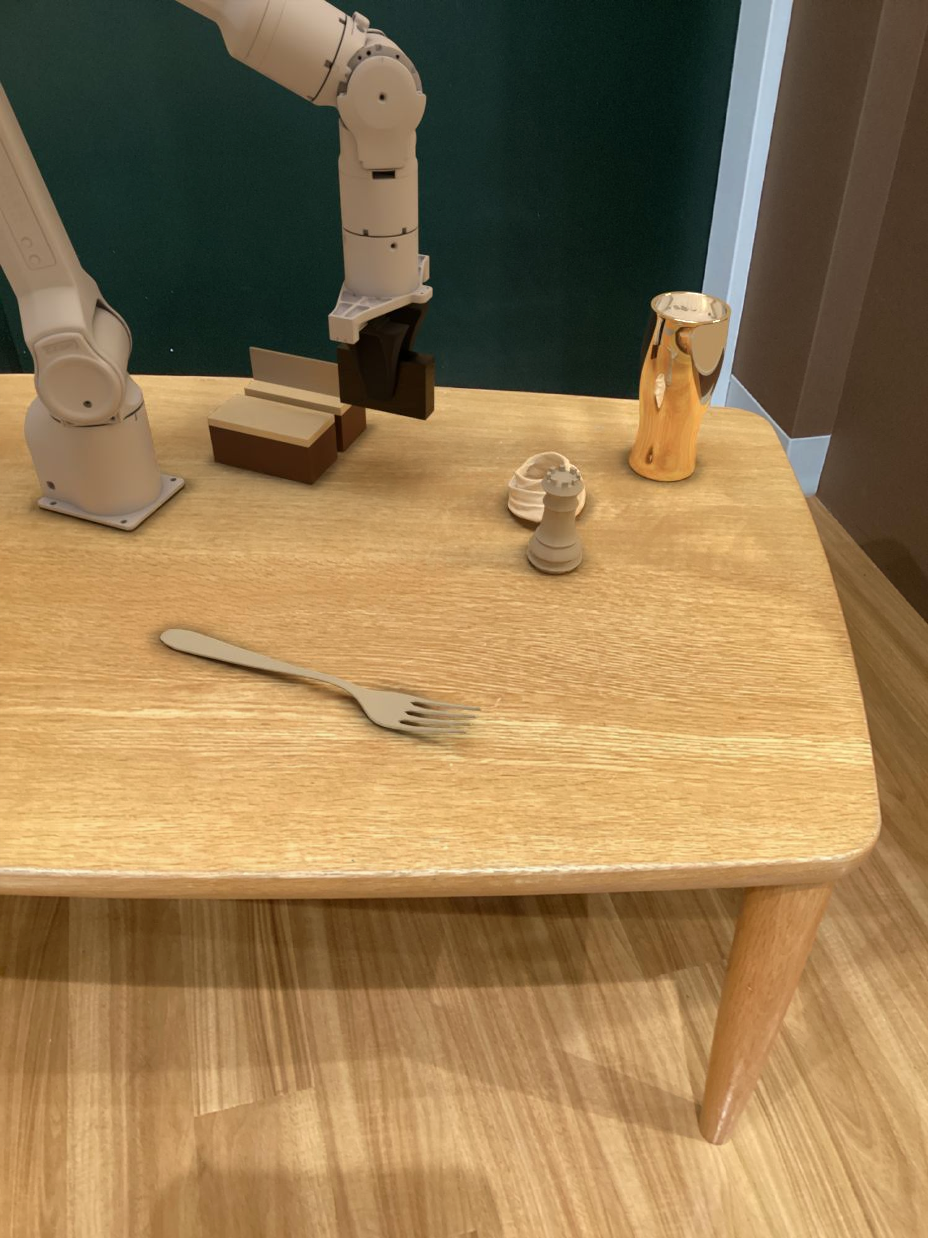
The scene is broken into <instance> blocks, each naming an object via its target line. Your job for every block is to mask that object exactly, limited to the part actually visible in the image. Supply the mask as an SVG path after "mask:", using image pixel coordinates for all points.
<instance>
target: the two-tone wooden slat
mask: <svg viewBox="0 0 928 1238" xmlns="http://www.w3.org/2000/svg"><path fill="white" fill-rule="evenodd" d="M249 355H250V363H251V369H252V370H251V371H252V377H253V380H258V381H262V382H267V383H272V384H277V385H282V386H286V387H291V388H296V389H301V390H306V391H310V392H315V393H320V394H325V395H329V396H334V397H339V398H340V403H344V404H349V405H354V406H358V407H363V408H366V409H367V410H374V411H378V412H382V413H387V414H393V415H397V416H402V417H406V418H411V419H415V420H421V421H427V420H428V418H430V416H431V415H432V414H433V413H434V411H435V370H436V369H435V363H436V362H435V358H436V356H435V355H434V354H430V353H429V354H428V353H424V352H418V351H408V350H403V349H400V351H399V355H398V360H397V368H396V380H395V388H394V393H393V396H392V399H391V400H390V401H389V402H386V401H381V400H376V399H371V398H368V397H367V395H366V392H365V389H364V386H363V383H362V380H361V377H360V373H359V370H358V368H357V365H356V362H355V360H354V357H353V355H352V353H351V351H350V349H349V348H348V346H347V344H346V343H344V342H341V343H340V344H339V345H338V346H336V361H337V363H335V362H330V361H325V360H320V359H316V358H310V357H305V356H300V355H295V354H291V353H285V352H281V351H275V350H269V349H264V348H259V347H255V346H250V347H249Z"/></svg>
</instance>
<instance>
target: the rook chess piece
mask: <svg viewBox="0 0 928 1238" xmlns="http://www.w3.org/2000/svg"><path fill="white" fill-rule="evenodd" d="M565 467H566V465H559V470H556V467H554V466H552V467H551V468H549V472H548V471H547V475H546V476H545V477H544V478H543V480H542V481H541V487H542V488H543V489H544V491H545V492H546V495H545V496H544V497H543V499H542V501H543V504H544V512H543V516H542V520H541V522H539V523H540V524H539V525H538V526H537V527H536V529H535V531H534V532H533V533H532V535H531V537H530V539H529V541H528V549H527V550H526V554H527V558H528V560H529V562H531V564H532V565H533V566H534V567H535V568H536V569H538V570H539V571H541V572H544V573H547V574H552V575H553V574H554V575H555V574H556V575H561V574H566V573H569V572H571V571H573V570H574V569H576V568H577V567H578V566H579V565H580V564H581V563H582V561H583V551H584V547H583V542H582V538H581V537H580V535H579V532H578V530H577V528H576V527H577V526H576V517H575V511H576V508H577V507H578V505H579V500H578V499H577V495H579V494H580V493H581V492H582V490H583V489H584V485H585V482H584V483H583V482H582V480H581V479H580V477H581V476H582V474H581V472H580V471H579V472H577V469H578V468H577V467H576V468H577V469H576V468H574V467H571V468H570V471H567V470H565ZM555 470H556V471H555ZM580 474H581V475H580Z"/></svg>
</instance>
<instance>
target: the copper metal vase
mask: <svg viewBox="0 0 928 1238" xmlns="http://www.w3.org/2000/svg"><path fill="white" fill-rule="evenodd" d="M649 307H650V308H649V312H648V315H647V320H646V324H645V328H644V331H643V336H642V342H641V348H640V355H639V363H638V403H639V406H638V409H639V410H638V411H639V419H638V429H637V434H636V438H635V441H634V443H633V445H632V448H631V451H630V453H629V455H628V464H629V466H630V468H631V469H632V470H633V471H634V472H635V473H637V474H638V475H640V476H641V477H643V478H646V479H649V480H653V481H656V482H657V481H658V482H676V481H681V480H685V479H687V478H689V477H690V476H691V475H692V474H693V473H694V472H695V469H696V446H697V437H698V434H699V430H700V427H701V424H702V421H703V419H704V416H705V414H706V412H707V409H708V406H709V405H710V402H711V399H712V397H713V395H714V392H715V390H716V386H717V384H718V381H719V378H720V376H721V372H722V368H723V364H724V359H725V354H726V349H727V344H728V343H727V342H728V336H729V329H730V321H731V320H730V319H731V315H732V308H731V306H730V305H729V304H728V303H727V302H725V301H724V300H723V299H720V298H718V297H716V296H713V295H709V294H706V293H702V292H695V291H683V290H682V291H681V290H680V291H670V292H664V293H661V294H658V295H656V296H654V297H653V298H652V300H651V301H650V306H649Z"/></svg>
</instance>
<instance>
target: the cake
mask: <svg viewBox="0 0 928 1238" xmlns="http://www.w3.org/2000/svg"><path fill="white" fill-rule="evenodd" d="M206 419H207V424H208V431H209V437H210V443H211V448H212V449H211V450H212V454H213V461H214V462H216V463H220V464H224V465H227V466H232V467H236V468H240V469H244V470H249V471H253V472H257V473H260V474H261V473H262V474H266V475H269V476H274V477H277V478H278V477H279V478H283V479H286V480H291V481H296V482H299V483H304V484H309V485H313V484H314V483H315V482H316V481H318V479H319V478H320V477H321V476H322V475H323V474H324V473H325V472H326V471H327V469H329V468H330V466H332V464H334V462H336V460H337V459H338V450H337V443H336V430H335V418H334V414H330V413H326V412H321V411H316V410H312V409H307V408H302V407H298V406H293V405H288V404H284V403H279V402H274V401H269V400H265V399H260V398H255V397H251V396H246V395H245V394H241V393H236V394H235V395H233V396H232V397H231V398H229V399H228V400H226V402H224V403H223V404H222V405H221V406H220V407H218V408H217V409H216V410H214V411H213V412H212V413H211V414H210V415H208V416H207V418H206Z"/></svg>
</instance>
